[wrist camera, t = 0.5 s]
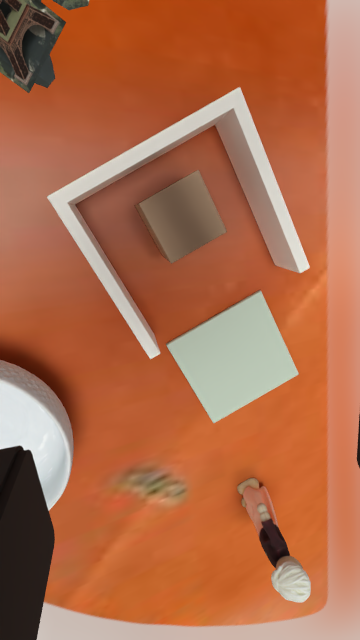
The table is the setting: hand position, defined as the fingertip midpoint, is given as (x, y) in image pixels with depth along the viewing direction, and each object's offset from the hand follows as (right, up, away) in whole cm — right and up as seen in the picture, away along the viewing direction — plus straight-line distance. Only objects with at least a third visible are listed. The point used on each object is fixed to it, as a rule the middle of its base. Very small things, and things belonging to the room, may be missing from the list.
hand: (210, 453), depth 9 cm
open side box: (-1, +11, +23) cm, 25 cm away
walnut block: (-2, +13, +22) cm, 26 cm away
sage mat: (+5, 0, +27) cm, 28 cm away
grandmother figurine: (+8, -17, +33) cm, 38 cm away
